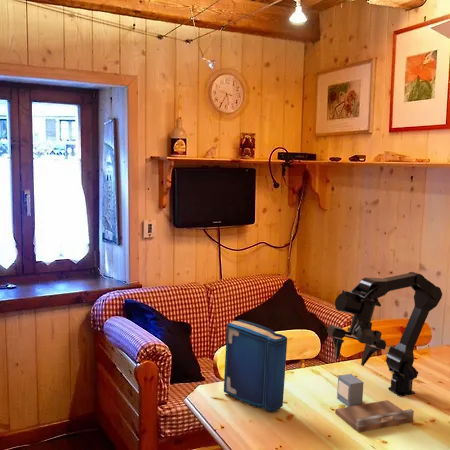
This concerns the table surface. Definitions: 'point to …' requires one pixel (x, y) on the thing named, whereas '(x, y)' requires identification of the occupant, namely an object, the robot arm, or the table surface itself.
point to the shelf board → (374, 415)
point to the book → (255, 365)
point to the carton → (350, 390)
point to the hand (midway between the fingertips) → (349, 362)
